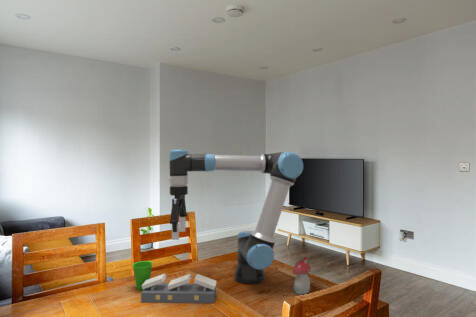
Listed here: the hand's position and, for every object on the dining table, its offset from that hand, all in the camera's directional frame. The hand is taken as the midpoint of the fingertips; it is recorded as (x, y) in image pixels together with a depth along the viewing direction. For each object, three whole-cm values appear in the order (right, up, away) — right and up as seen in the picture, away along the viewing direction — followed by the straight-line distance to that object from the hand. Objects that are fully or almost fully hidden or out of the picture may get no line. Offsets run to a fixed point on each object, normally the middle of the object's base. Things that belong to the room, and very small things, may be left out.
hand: (179, 235), depth 134 cm
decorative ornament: (+53, -27, +5) cm, 60 cm away
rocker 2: (0, -20, 0) cm, 20 cm away
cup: (-18, -27, +9) cm, 34 cm away
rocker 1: (-11, -20, 0) cm, 22 cm away
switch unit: (0, -26, 0) cm, 26 cm away
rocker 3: (+11, -20, -1) cm, 23 cm away
